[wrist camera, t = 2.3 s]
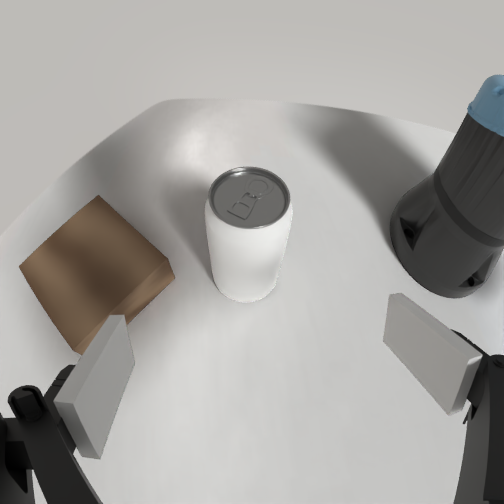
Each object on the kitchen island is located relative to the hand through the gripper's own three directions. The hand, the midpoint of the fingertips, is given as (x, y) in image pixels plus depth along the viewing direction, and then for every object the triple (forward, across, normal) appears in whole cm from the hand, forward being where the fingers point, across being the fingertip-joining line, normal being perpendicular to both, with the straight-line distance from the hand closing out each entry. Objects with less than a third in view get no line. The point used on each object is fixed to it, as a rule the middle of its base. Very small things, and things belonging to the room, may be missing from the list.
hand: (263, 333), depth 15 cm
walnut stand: (+17, -15, -3) cm, 23 cm away
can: (+17, 0, -3) cm, 18 cm away
